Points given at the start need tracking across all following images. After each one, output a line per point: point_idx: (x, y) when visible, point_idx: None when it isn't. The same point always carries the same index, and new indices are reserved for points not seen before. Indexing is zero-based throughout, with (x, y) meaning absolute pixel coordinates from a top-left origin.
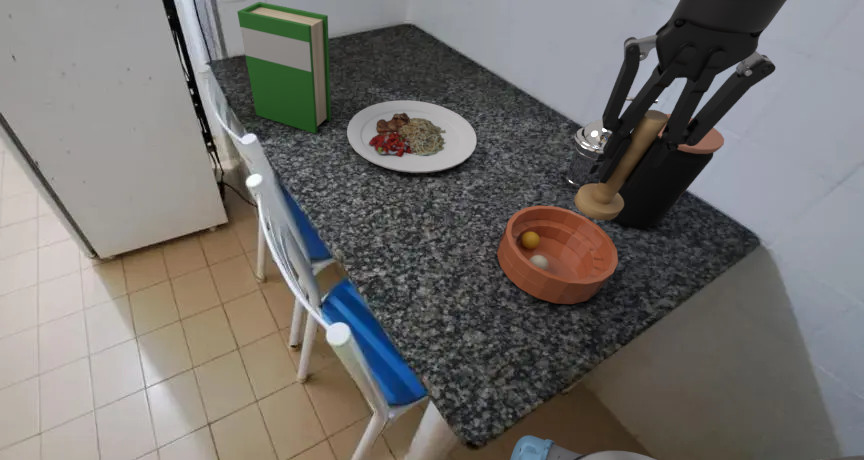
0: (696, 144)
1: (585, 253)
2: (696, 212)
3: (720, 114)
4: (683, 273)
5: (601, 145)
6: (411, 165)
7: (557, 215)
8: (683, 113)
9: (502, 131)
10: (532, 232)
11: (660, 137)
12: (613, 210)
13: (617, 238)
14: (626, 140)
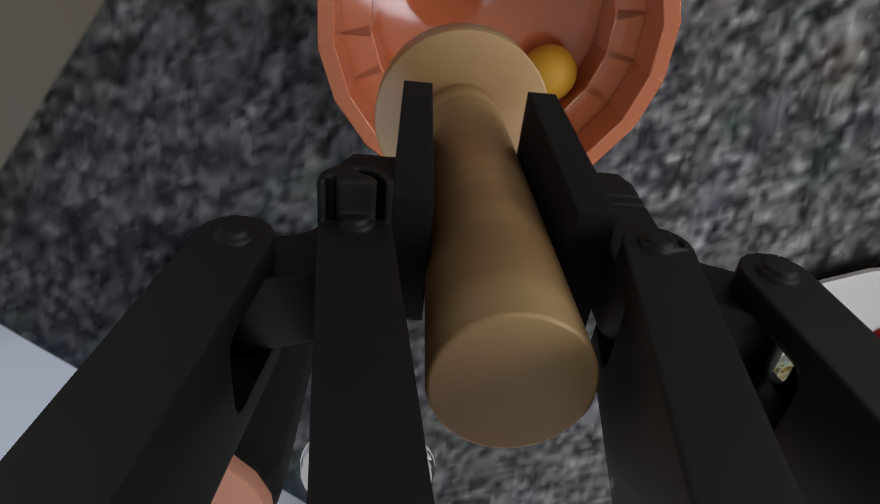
0: (204, 224)
1: (384, 63)
2: (81, 329)
3: (83, 409)
4: (103, 94)
5: None
6: (850, 304)
7: None
8: (390, 382)
9: (557, 484)
10: (554, 89)
11: (237, 470)
12: (420, 56)
13: (278, 179)
14: (607, 216)
